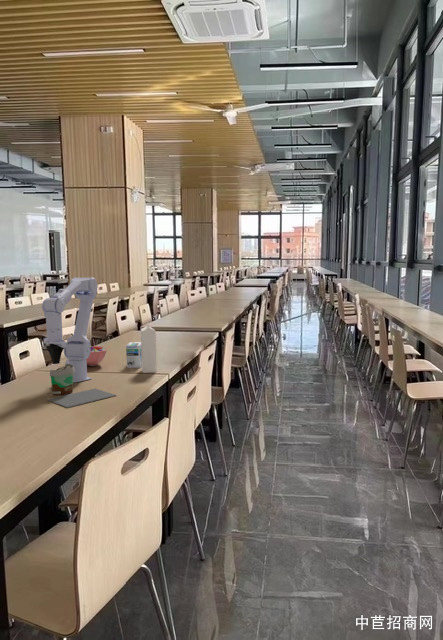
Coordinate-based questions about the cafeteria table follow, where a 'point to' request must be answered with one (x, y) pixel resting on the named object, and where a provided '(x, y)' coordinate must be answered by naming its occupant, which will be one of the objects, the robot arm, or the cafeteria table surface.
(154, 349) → the milk
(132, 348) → the light bulb box
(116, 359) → the cafeteria table surface
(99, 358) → the cell model
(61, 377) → the food container
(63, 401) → the mat
